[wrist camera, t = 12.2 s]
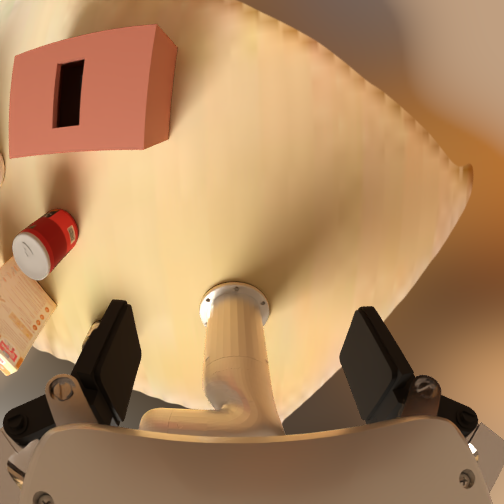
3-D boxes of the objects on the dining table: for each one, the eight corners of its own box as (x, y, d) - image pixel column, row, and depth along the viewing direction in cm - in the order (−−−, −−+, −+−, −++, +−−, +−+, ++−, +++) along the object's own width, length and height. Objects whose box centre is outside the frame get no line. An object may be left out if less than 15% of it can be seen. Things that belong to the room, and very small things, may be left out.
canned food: (57, 198, 39) (21, 223, 30) (87, 230, 42) (56, 261, 33) (40, 226, 41) (6, 254, 31) (67, 256, 44) (38, 289, 35)
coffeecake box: (4, 266, 44) (-45, 319, 27) (16, 252, 43) (-39, 307, 26) (44, 316, 51) (6, 377, 33) (58, 305, 49) (17, 371, 32)
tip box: (168, 139, 37) (143, 149, 26) (55, 144, 35) (9, 158, 24) (177, 47, 31) (156, 24, 20) (60, 62, 29) (15, 56, 18)
